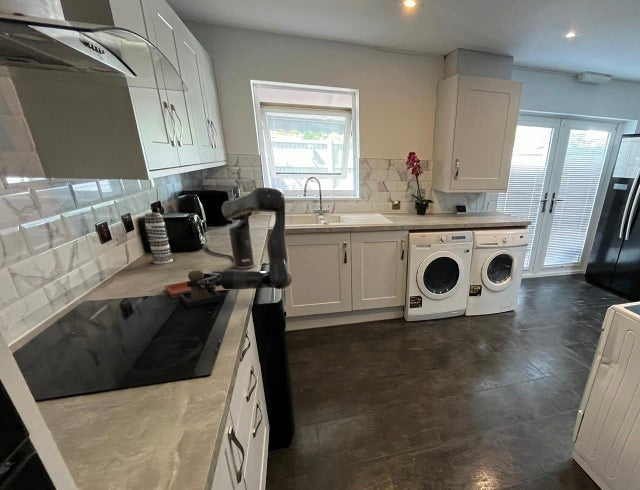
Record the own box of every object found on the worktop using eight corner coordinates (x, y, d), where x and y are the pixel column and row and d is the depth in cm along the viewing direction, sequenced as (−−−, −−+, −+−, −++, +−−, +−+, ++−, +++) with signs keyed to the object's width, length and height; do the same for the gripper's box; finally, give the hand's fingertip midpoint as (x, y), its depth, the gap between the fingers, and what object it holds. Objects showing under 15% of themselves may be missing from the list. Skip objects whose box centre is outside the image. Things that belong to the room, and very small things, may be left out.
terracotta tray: (165, 290, 133) (164, 285, 133) (197, 283, 141) (196, 279, 141) (173, 298, 126) (172, 293, 125) (205, 291, 134) (205, 286, 133)
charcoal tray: (180, 298, 126) (179, 293, 126) (212, 291, 134) (211, 286, 134) (188, 307, 119) (187, 302, 118) (222, 299, 127) (221, 294, 126)
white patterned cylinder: (177, 258, 174) (167, 212, 165) (167, 264, 165) (156, 214, 156) (159, 258, 173) (149, 211, 164) (148, 263, 164) (136, 214, 156)
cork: (187, 298, 125) (182, 272, 121) (203, 293, 130) (198, 268, 126) (197, 302, 123) (192, 274, 119) (212, 297, 128) (207, 270, 124)
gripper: (242, 265, 131) (199, 265, 129) (229, 277, 118) (181, 277, 116) (244, 282, 134) (203, 282, 132) (232, 295, 121) (185, 296, 118)
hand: (193, 280), depth 124 cm, fingers open, 8 cm apart
